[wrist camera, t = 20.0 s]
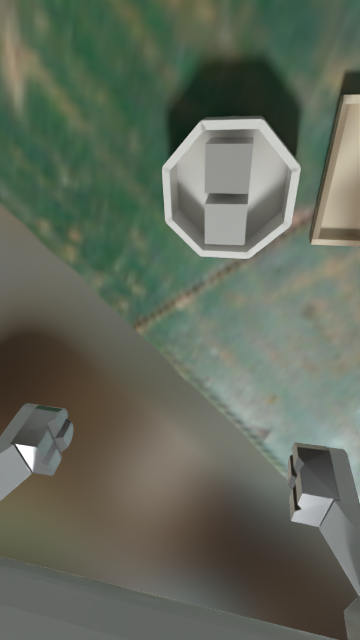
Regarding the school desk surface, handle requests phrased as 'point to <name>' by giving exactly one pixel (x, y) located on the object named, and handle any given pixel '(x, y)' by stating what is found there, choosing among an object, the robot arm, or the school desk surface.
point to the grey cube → (225, 218)
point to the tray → (340, 181)
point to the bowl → (264, 188)
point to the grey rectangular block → (228, 164)
